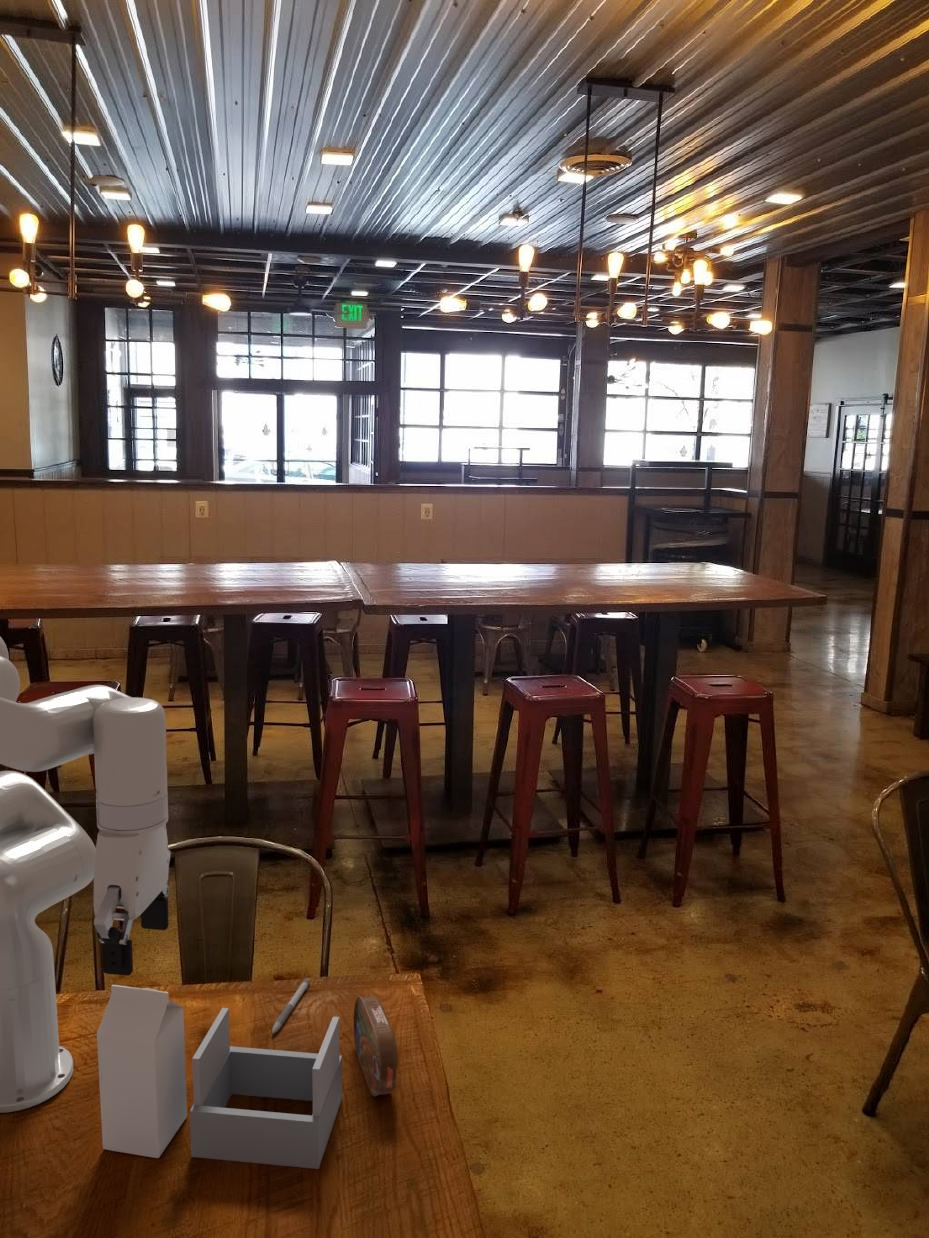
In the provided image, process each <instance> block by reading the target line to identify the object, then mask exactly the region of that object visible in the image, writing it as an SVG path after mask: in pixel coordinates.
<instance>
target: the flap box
mask: <svg viewBox="0 0 929 1238" xmlns="http://www.w3.org/2000/svg"><path fill="white" fill-rule="evenodd" d="M229 1008H230V1007H222V1008H221V1009H220V1012H219V1013H218V1014H217V1016H216V1018H215V1020H214V1021H213V1023H212V1025H211V1026H210V1028H209V1030H208V1032H207V1033H206V1034H205V1036H204V1038H203V1039H202V1041H201V1043H200V1045H199V1046H198V1048H197V1050H196V1052H195V1053H194V1055H193V1057H192V1058H191V1059H192V1084H193V1085H192V1086H193V1089H192V1091H193V1092H192V1093H193V1104H192V1106H191V1108H190V1110H189V1125H190V1126H189V1127H190V1128H189V1129H190V1151H191V1154H190V1155H191V1156H190V1157H191V1158H199V1159H209V1160H210V1159H212V1160H220V1161H230V1162H231V1161H233V1162H239V1163H240V1162H241V1163H242V1162H243V1163H250V1164H251V1163H253V1164H264V1165H273V1166H283V1167H292V1168H293V1167H295V1168H296V1167H297V1168H305V1169H314V1170H318V1169H320V1168H321V1167H320V1166H321V1164H322V1160H323V1157H324V1154H325V1152H326V1149H327V1148H326V1147H327V1145H328V1142H329V1139H330V1136H331V1133H332V1130H333V1127H334V1124H335V1122H336V1121H335V1120H336V1118H337V1115H338V1112H339V1108H340V1106H341V1103H342V1100H343V1055H341V1054H340V1016H332V1019H331V1020H330V1023H329V1026H328V1028H327V1031H326V1033H325V1036H324V1039H323V1041H322V1043H321V1046H320V1048H319V1050H318V1051H319V1052H318V1053H313V1052H302V1051H291V1050H290V1051H289V1050H281V1049H267V1048H255V1047H243V1046H233V1045H231V1043H230V1042H231V1041H230V1010H229ZM232 1095H238V1096H239V1095H240V1096H251V1097H262V1098H272V1099H273V1098H275V1099H287V1100H294V1101H295V1100H296V1101H297V1100H298V1101H307V1102H312V1114H311V1115H310V1114H297V1113H286V1112H275V1111H264V1110H251V1109H242V1108H241V1109H240V1108H231V1107H230V1108H229V1107H226V1106H227V1105H228V1102H229V1100H230V1098H231V1096H232Z"/></svg>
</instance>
